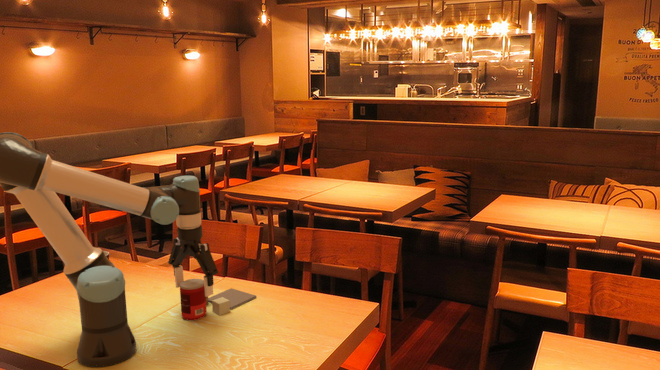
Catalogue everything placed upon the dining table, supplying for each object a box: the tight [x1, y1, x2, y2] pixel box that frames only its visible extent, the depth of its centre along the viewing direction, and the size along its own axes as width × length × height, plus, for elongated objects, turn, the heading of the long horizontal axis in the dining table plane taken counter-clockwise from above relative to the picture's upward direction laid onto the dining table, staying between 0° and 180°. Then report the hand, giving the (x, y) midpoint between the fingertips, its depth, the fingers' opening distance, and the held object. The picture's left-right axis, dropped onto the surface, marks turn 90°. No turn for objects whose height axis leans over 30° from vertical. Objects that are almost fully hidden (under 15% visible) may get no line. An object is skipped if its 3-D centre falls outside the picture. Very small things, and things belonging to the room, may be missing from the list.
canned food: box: [179, 278, 207, 321], centre depth 176 cm, size 8×8×11 cm
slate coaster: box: [208, 287, 257, 310], centre depth 190 cm, size 12×12×1 cm
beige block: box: [211, 297, 231, 316], centre depth 180 cm, size 4×4×4 cm
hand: (194, 290), depth 176 cm, fingers open, 13 cm apart
